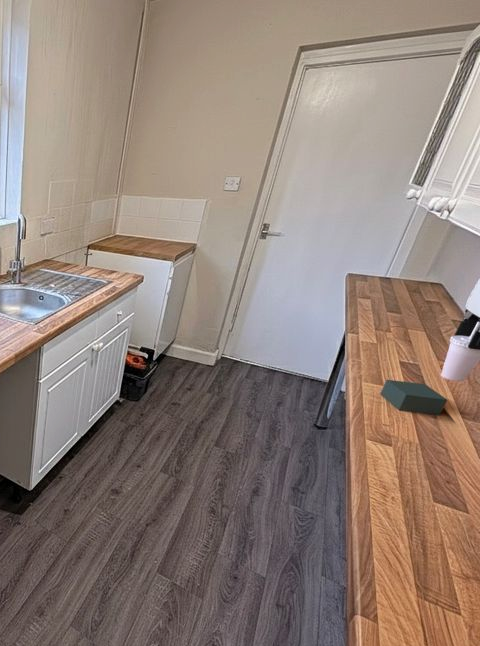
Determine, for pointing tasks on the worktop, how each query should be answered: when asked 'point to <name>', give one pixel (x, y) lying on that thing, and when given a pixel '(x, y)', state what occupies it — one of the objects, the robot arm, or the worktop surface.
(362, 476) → the worktop surface
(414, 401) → the block
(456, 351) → the smoothie
